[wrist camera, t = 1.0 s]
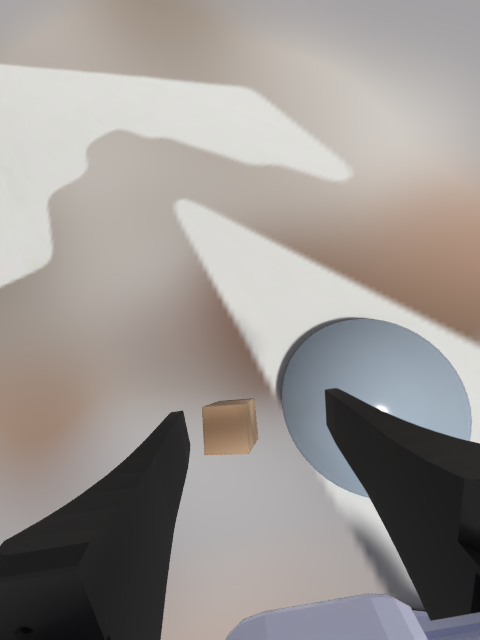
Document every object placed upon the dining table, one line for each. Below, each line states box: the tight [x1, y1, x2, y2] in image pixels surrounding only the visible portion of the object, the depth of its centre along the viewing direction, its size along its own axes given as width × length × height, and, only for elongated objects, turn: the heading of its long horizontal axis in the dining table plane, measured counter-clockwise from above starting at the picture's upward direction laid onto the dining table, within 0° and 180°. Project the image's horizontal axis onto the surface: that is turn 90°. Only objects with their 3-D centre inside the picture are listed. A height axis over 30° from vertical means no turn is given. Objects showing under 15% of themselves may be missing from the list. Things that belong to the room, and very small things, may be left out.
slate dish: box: [282, 319, 472, 498], centre depth 22 cm, size 16×16×1 cm
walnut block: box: [202, 399, 258, 455], centre depth 23 cm, size 4×4×5 cm
